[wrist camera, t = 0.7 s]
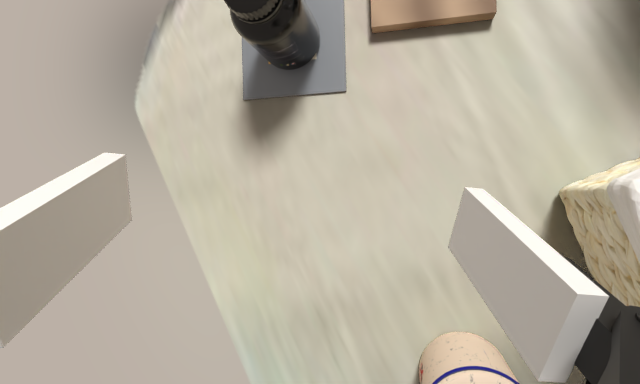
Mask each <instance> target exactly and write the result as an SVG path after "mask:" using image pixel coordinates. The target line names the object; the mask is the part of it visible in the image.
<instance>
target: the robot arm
mask: <svg viewBox="0 0 640 384" xmlns="http://www.w3.org/2000/svg"><path fill="white" fill-rule="evenodd" d="M131 220H132V217H131V207H130V195H129V185H128V174H127V164H126V155H124V154H114V153H103V154H101V155H99V156H98V157H95V158H94V159H92V160H90V161H88V162H86V163H84V164H83V165H80V166H79V167H77V168H75V169H73V170H71V171H69V172H67V173H65V174H64V175H62V176H60V177H58V178H56V179H54V180H52V181H51V182H49V183H47V184H45V185H43V186H41V187H39V188H37V189H36V190H34V191H32V192H30V193H28V194H26V195H24V196H23V197H21V198H19V199H17V200H15V201H13V202H11V203H9V204H7V205H6V206H4V207H2V208H0V348H3V347H4V346H5V345H6V344H7V343H9V342H10V340H12V339H13V338H14V336H15V335H17V334H18V333H19V332H20V330H22V329H23V328H24V327H25V326H26V325H27V324H28V323H29V322H30V321H31V320H32V319H33V318H34V317H35V316H36V315H37V314H38V313H39V312H40V311H41V310H42V309H43V308H44V307H45V306H46V305H47V304H48V303H49V302H50V301H51V300H52V299H53V298H54V297H55V296H56V295H57V294H58V293H59V292H60V291H61V290H62V289H63V288H64V287H65V286H66V285H67V284H68V283H69V282H70V281H71V280H72V279H73V278H74V277H75V276H76V275H77V274H78V273H79V272H80V271H81V270H82V269H83V268H84V267H85V266H86V265H87V264H88V263H89V262H90V261H91V260H92V259H93V258H94V257H95V256H96V255H97V254H98V253H99V252H100V251H101V250H102V249H103V248H104V247H105V246H106V245H107V244H108V243H109V242H110V241H111V240H112V239H113V238H114V237H115V236H116V235H117V234H118V233H119V232H120V231H121V230H122V229H123V228H124V227H125V226H126V225H127V224H128V223H130V221H131ZM448 248H449V249H450V251H451V252H452V254H453V255H454V257H455V258H456V260H457V261H458V263H459V264H460V266H461V267H462V269H463V270H464V272H465V273H466V275H467V276H468V278H469V279H470V281H471V282H472V284H473V285H474V287H475V288H476V290H477V291H478V293H479V294H480V296H481V297H482V299H483V300H484V302H485V303H486V305H487V306H488V308H489V309H490V311H491V312H492V314H493V315H494V317H495V318H496V320H497V321H498V323H499V324H500V326H501V327H502V329H503V330H504V332H505V333H506V335H507V336H508V338H509V339H510V341H511V342H512V344H513V345H514V347H515V348H516V350H517V351H518V353H519V354H520V356H521V357H522V359H523V360H524V362H525V363H526V365H527V366H528V368H529V369H530V371H531V372H532V374H533V375H534V377H535V378H536V380H537V381H542V382H558V383H566V382H567V380H568V378H569V376H570V374H571V372H572V370H573V368H574V366H575V365H576V366H577V367H578V369H579V370H580V371H581V372H582V373H583V375H584V376H585V377H586V378H585V379H584V381H583V383H582V384H640V307H638V306H631V305H630V306H625V305H624V304H623V303H622V302H621V301H619V300H618V299H617V298H616V297H615V296H613V295H612V294H611V293H610V292H609V291H608V290H606V289H605V288H604V287H603V286H602V285H600V284H599V283H598V282H597V281H593V278H592V277H591V276H590V275H588V274H587V273H586V272H583V270H582V269H581V268H580V267H579V266H578V265H576V264H575V263H574V262H573V261H572V260H570V259H569V258H567V257H565V256H563V255H561V254H560V253H558V252H557V251H555V250H554V249H553V248H552V247H551V246H550V245H548V244H547V243H546V242H545V241H544V240H543V239H541V238H540V237H539V236H538V235H537V234H536V233H534V232H533V231H532V230H531V229H530V228H529V227H527V226H526V225H525V224H524V223H523V222H521V221H520V220H519V219H518V218H517V217H516V216H514V215H513V214H512V213H511V212H510V211H509V210H507V209H506V208H505V207H504V206H503V205H502V204H500V203H499V202H498V201H497V200H496V199H494V198H493V197H492V196H491V195H490V194H489V193H487V192H486V191H485V190H484V189H478V188H468V187H465V188H464V191H463V195H462V199H461V202H460V206H459V209H458V213H457V216H456V220H455V224H454V227H453V231H452V234H451V238H450V242H449V245H448Z"/></svg>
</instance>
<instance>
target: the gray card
mask: <svg viewBox="0 0 640 384" xmlns="http://www.w3.org/2000/svg"><path fill="white" fill-rule="evenodd" d="M305 1H306V3H307V5H308V7H309V9H310V10H311V12H312V14H313V16H314V18H315V20H316V22H317V24H318V27H319V31H320V43H319V47H318V50H317V52H316V54H315V55H314V57H313V58H312V59H311V60H310V61H309V62H308V63H307V64H306V65H304V66H303V67H300V68H298V69H294V70H284V69H280V68H277V67H276V66H274V65H272V64H271V63H270V62H269V61H268V60H266V59H265V58H264V57H263V56H262V55H261V54H260V53H259V52H258V51H257V50H256V49H255V48H253V47H252V46H251V45H250V44H249V43H248V42H247V41H246V40H245V39H244V38H243V37H242V65H243V100H251V99H262V98H274V97H286V96H298V95H309V94H321V93H333V92H345V91H346V62H345V22H344V0H305Z"/></svg>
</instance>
